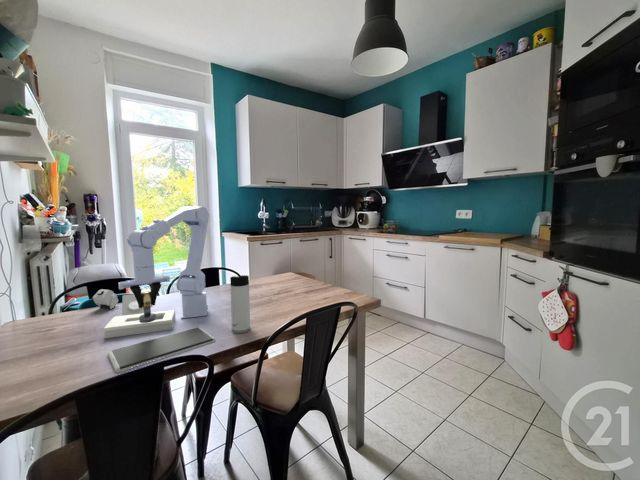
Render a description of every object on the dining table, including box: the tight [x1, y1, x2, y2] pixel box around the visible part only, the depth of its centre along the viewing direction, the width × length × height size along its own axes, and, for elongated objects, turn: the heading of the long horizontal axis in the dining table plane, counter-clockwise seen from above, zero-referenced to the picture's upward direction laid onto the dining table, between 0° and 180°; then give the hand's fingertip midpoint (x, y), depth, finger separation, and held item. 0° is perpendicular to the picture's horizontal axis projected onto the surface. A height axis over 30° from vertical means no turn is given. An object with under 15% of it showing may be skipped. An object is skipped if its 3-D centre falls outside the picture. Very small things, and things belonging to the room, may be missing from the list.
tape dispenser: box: [92, 288, 119, 310], centre depth 124 cm, size 6×7×10 cm
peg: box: [139, 290, 156, 323], centre depth 96 cm, size 5×5×10 cm
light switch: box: [121, 294, 144, 316], centre depth 115 cm, size 8×6×14 cm
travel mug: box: [229, 275, 251, 334], centre depth 100 cm, size 6×7×20 cm
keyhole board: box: [103, 309, 176, 339], centre depth 103 cm, size 20×11×4 cm, turn 111°
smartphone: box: [107, 326, 216, 374], centre depth 89 cm, size 13×27×2 cm, turn 134°
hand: (146, 305), depth 96 cm, fingers closed on peg, 3 cm apart
